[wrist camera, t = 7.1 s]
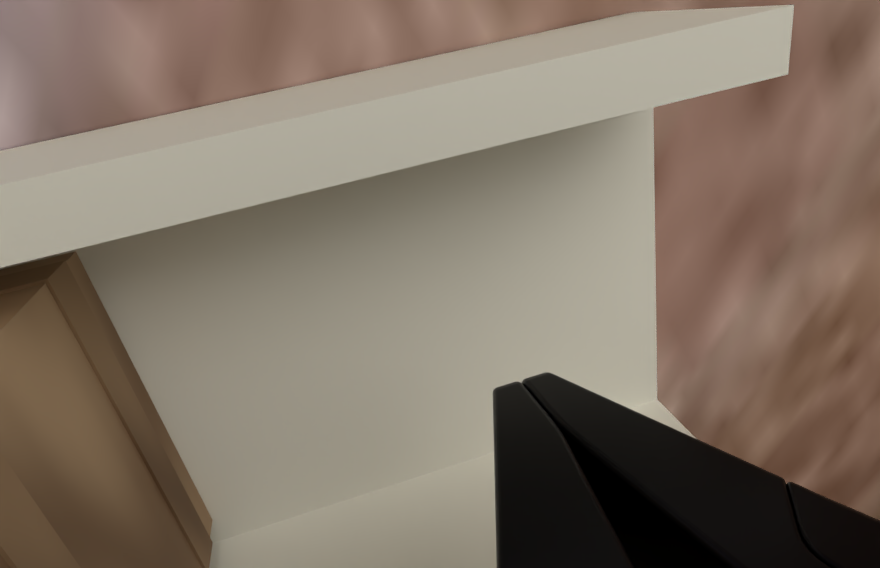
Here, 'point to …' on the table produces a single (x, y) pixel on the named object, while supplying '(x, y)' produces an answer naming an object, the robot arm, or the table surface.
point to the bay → (384, 270)
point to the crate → (84, 437)
